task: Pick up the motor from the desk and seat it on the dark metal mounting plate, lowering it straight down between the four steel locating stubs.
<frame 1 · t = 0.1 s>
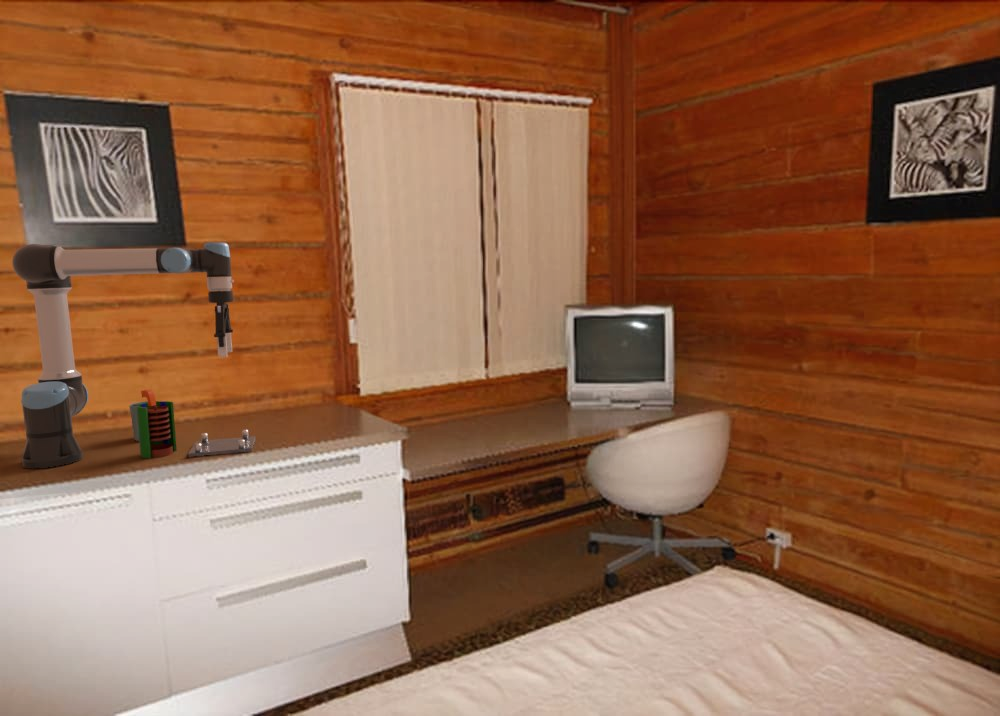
hand: (225, 354, 228), 28 cm above the dresser top, tool pointing down, fingers open, 13 cm apart
grey embossed cup: (149, 438, 233), on the dresser top
mounting plate: (223, 448, 217), on the dresser top
motor: (157, 454, 212), on the dresser top
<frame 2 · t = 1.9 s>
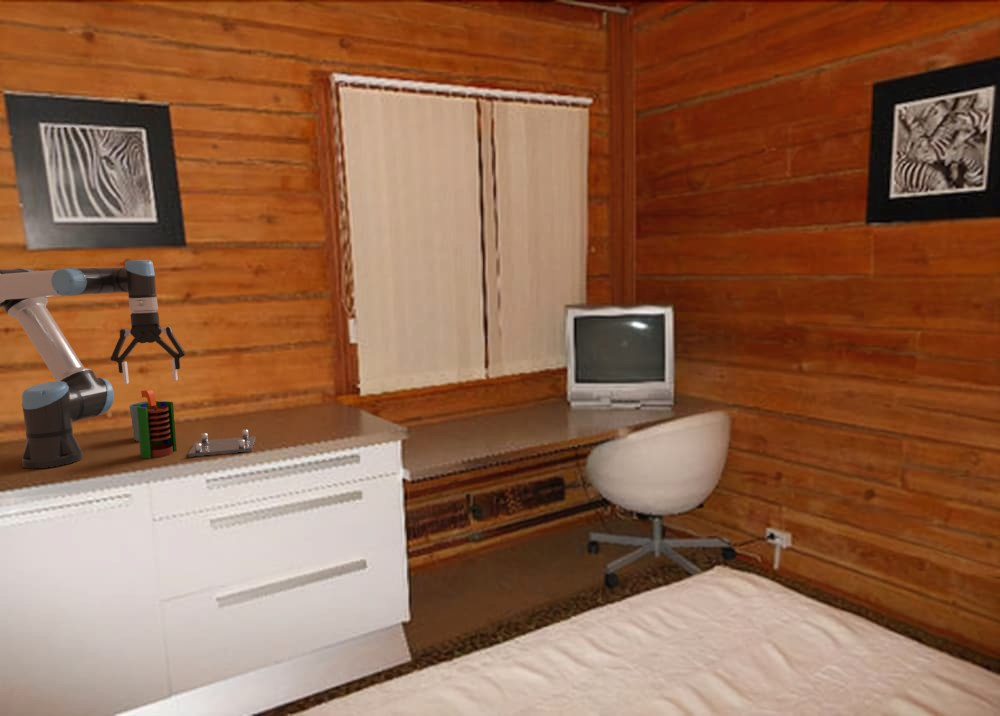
hand: (151, 381, 208), 23 cm above the dresser top, tool pointing down, fingers open, 13 cm apart
nothing on the dresser top moved.
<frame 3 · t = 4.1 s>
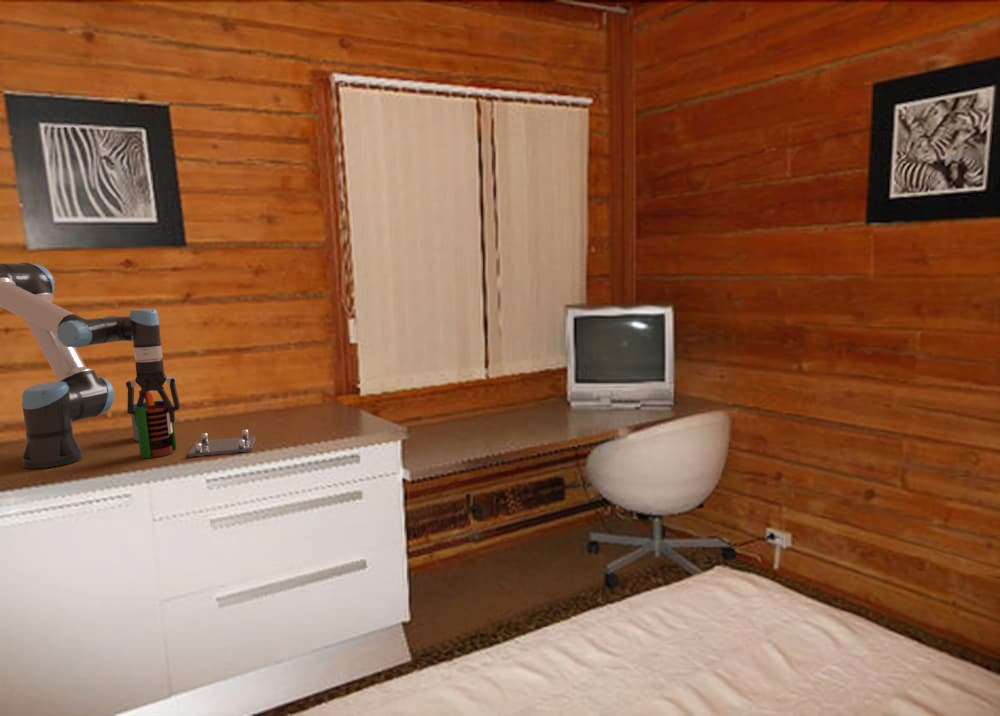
hand: (156, 434, 211), 6 cm above the dresser top, tool pointing down, fingers closed on motor, 7 cm apart
motor: (157, 454, 212), on the dresser top, touching gripper
everything else where it was.
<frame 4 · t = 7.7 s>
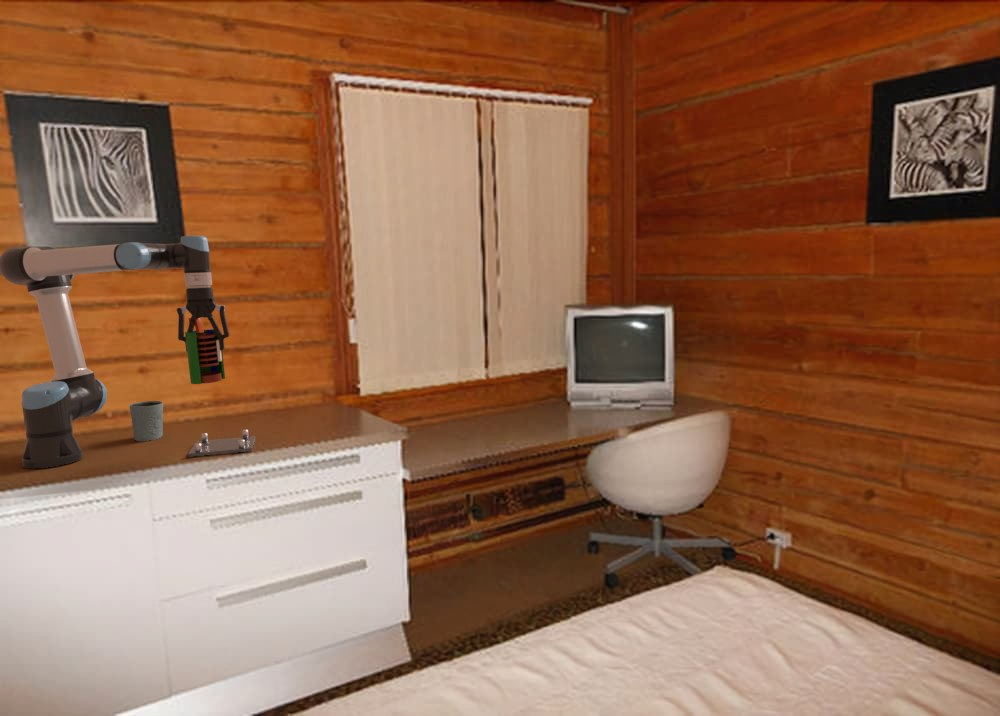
hand: (206, 361, 212), 28 cm above the dresser top, tool pointing down, fingers closed on motor, 7 cm apart
motor: (207, 381, 213), point 21 cm above the dresser top, touching gripper
everything else where it was.
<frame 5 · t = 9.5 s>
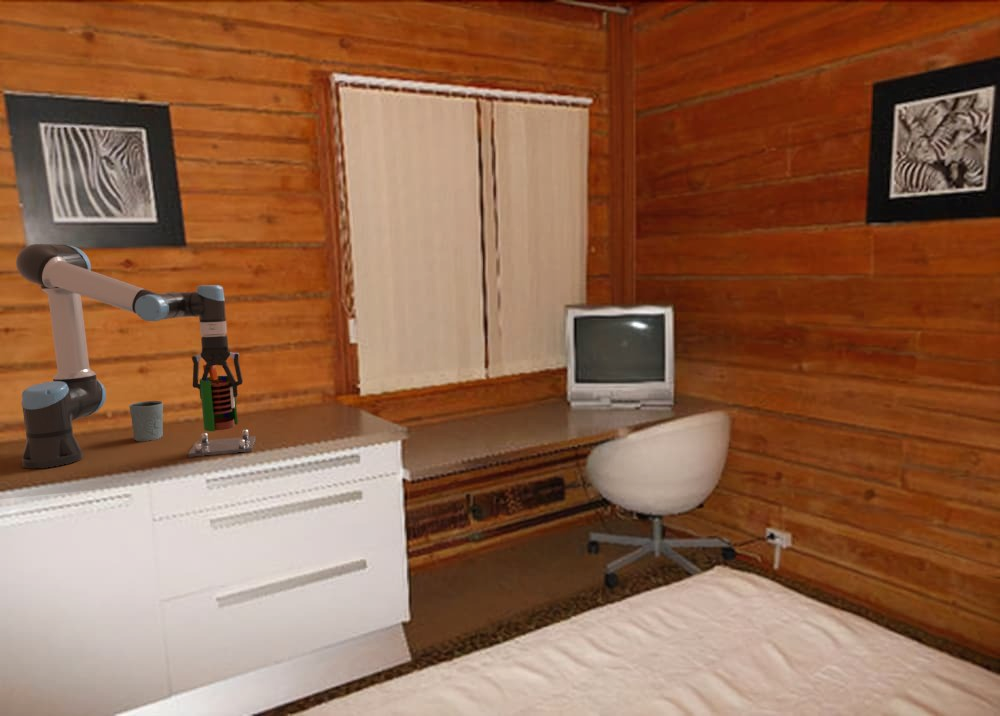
hand: (220, 408, 215), 13 cm above the dresser top, tool pointing down, fingers closed on motor, 7 cm apart
motor: (220, 428, 216), point 7 cm above the dresser top, touching gripper
everything else where it was.
when the fingers open (9 cm above the dresser top, at t = 11.1 s): motor drops 1 cm, resting on mounting plate.
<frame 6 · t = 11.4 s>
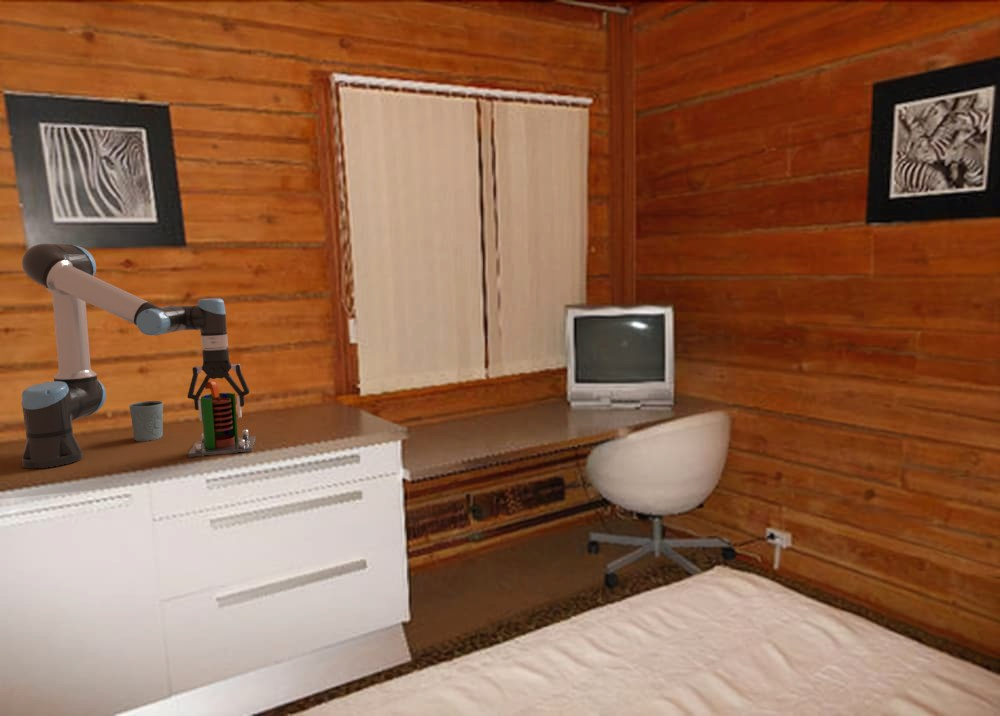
hand: (221, 418, 215), 10 cm above the dresser top, tool pointing down, fingers open, 10 cm apart
motor: (220, 445, 216), point 1 cm above the dresser top, touching mounting plate
everything else where it was.
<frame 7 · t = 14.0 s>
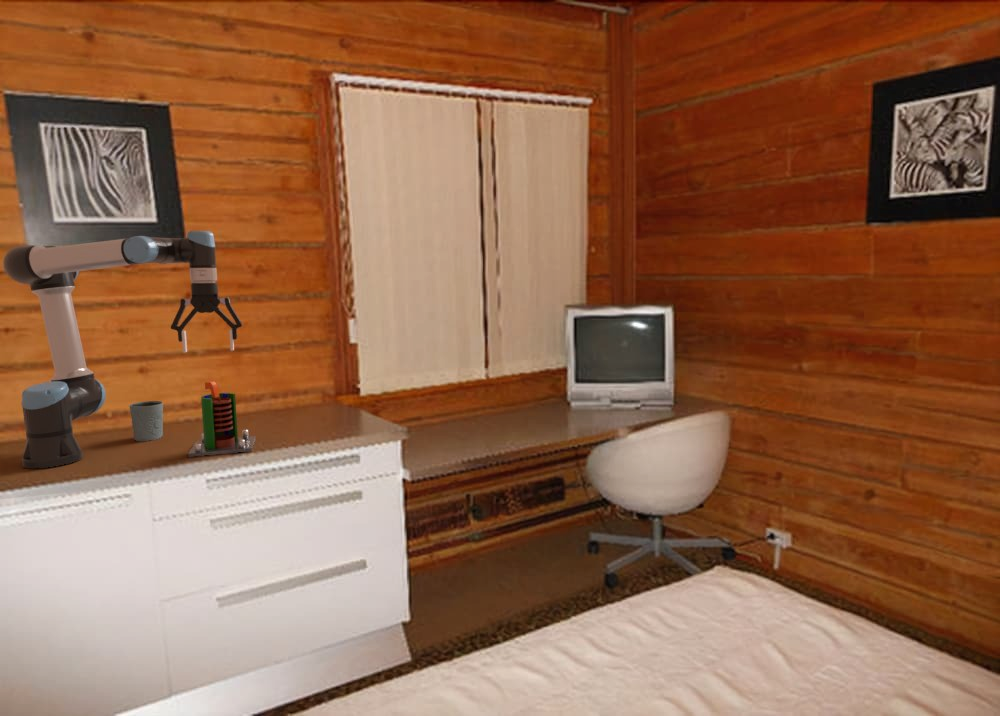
hand: (209, 351, 213), 31 cm above the dresser top, tool pointing down, fingers open, 13 cm apart
nothing on the dresser top moved.
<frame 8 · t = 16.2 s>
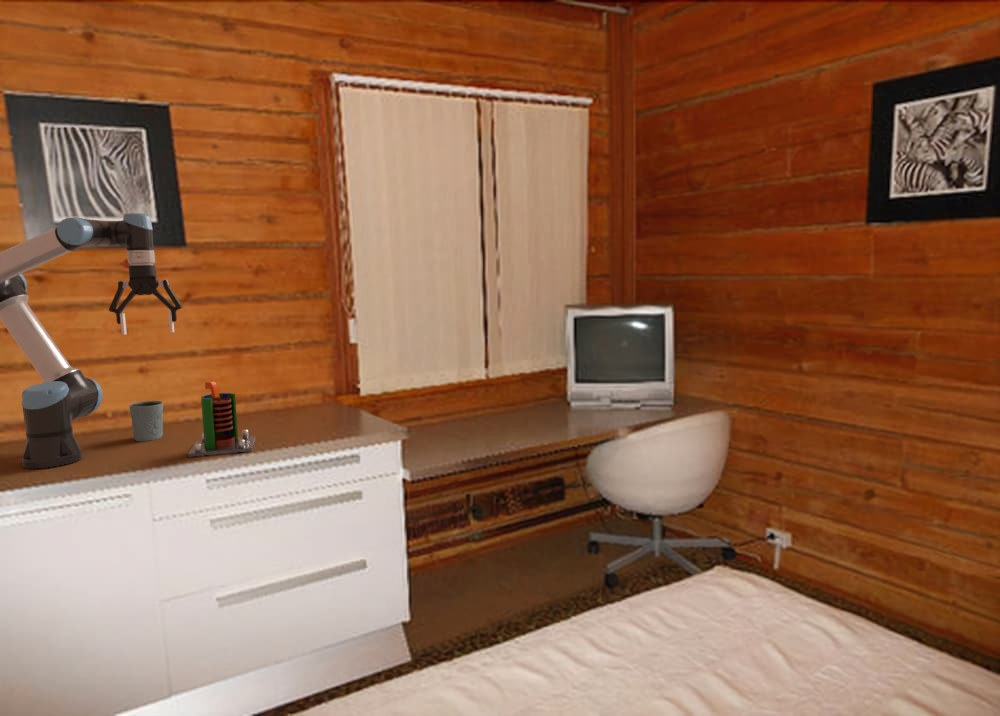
hand: (148, 333, 214), 37 cm above the dresser top, tool pointing down, fingers open, 13 cm apart
nothing on the dresser top moved.
at the end: motor 0.8 cm off-centre on the mounting plate, point 1.0 cm above the mounting plate's base; motor tilted 0°; the gripper is holding nothing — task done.
